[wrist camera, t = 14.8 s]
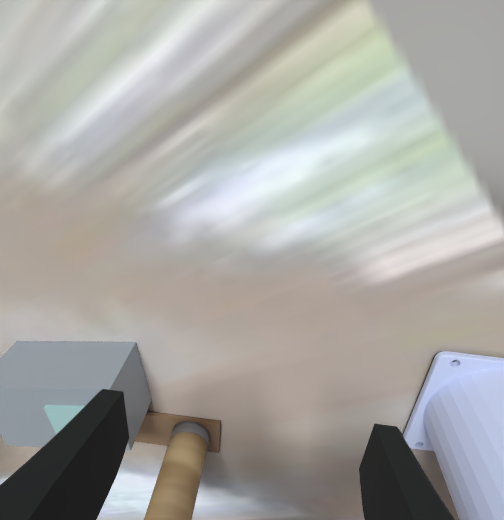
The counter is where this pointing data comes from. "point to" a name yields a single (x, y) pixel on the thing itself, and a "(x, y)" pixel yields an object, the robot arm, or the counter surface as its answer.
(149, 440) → the strip
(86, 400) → the finder block
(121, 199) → the counter surface
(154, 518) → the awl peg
